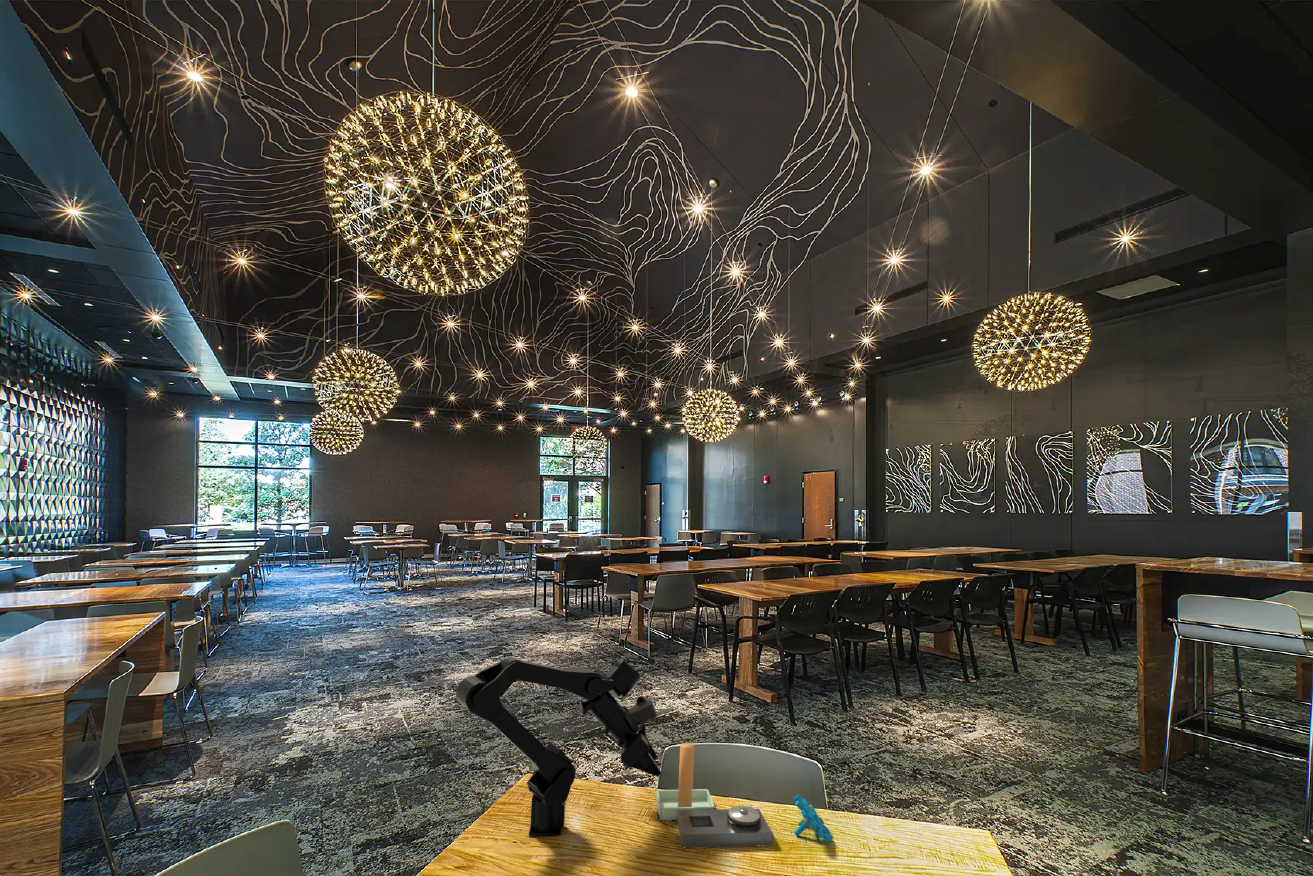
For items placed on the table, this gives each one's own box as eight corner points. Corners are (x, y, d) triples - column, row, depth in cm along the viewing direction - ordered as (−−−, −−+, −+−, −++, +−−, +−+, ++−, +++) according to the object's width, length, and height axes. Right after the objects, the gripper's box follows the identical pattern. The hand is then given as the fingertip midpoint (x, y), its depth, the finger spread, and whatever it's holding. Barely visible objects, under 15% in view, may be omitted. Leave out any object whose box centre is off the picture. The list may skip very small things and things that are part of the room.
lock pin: (678, 811, 131) (681, 748, 133) (676, 804, 134) (679, 743, 136) (692, 811, 131) (695, 748, 133) (690, 804, 135) (693, 743, 137)
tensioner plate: (682, 848, 117) (683, 822, 118) (676, 823, 127) (676, 799, 128) (771, 845, 119) (771, 820, 120) (759, 821, 129) (758, 798, 129)
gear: (835, 845, 117) (797, 799, 120) (813, 866, 116) (776, 819, 120) (833, 826, 127) (799, 785, 131) (813, 846, 127) (780, 804, 130)
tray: (659, 821, 128) (660, 808, 128) (656, 801, 137) (656, 790, 137) (714, 819, 129) (714, 807, 129) (707, 800, 138) (707, 789, 138)
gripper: (638, 699, 126) (689, 755, 126) (634, 677, 145) (678, 725, 144) (600, 739, 125) (651, 795, 124) (601, 711, 143) (645, 760, 142)
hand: (658, 766), depth 133 cm, fingers open, 9 cm apart
